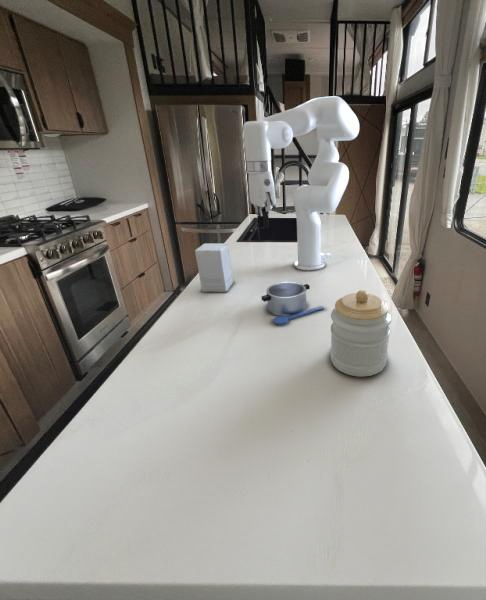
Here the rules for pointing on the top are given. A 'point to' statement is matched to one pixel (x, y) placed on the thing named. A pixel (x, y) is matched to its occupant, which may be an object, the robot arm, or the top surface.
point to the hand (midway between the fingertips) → (263, 227)
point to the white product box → (214, 267)
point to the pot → (286, 298)
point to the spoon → (294, 316)
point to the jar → (360, 334)
